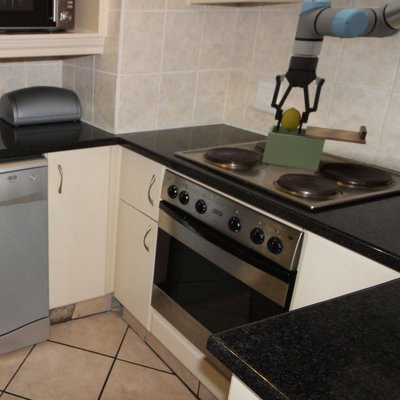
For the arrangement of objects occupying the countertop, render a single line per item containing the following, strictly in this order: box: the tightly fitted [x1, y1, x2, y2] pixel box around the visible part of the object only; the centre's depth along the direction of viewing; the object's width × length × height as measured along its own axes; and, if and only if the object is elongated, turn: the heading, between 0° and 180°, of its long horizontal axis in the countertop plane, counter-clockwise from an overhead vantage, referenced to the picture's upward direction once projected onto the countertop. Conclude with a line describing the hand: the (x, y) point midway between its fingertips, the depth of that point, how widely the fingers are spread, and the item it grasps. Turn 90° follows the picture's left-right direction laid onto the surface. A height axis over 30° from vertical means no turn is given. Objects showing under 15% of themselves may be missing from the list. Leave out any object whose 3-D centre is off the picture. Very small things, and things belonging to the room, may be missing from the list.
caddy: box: [261, 124, 326, 171], centre depth 152 cm, size 16×13×10 cm
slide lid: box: [305, 125, 368, 145], centre depth 145 cm, size 16×13×3 cm
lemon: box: [280, 106, 302, 133], centre depth 150 cm, size 6×6×8 cm
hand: (288, 131), depth 151 cm, fingers closed on lemon, 5 cm apart
